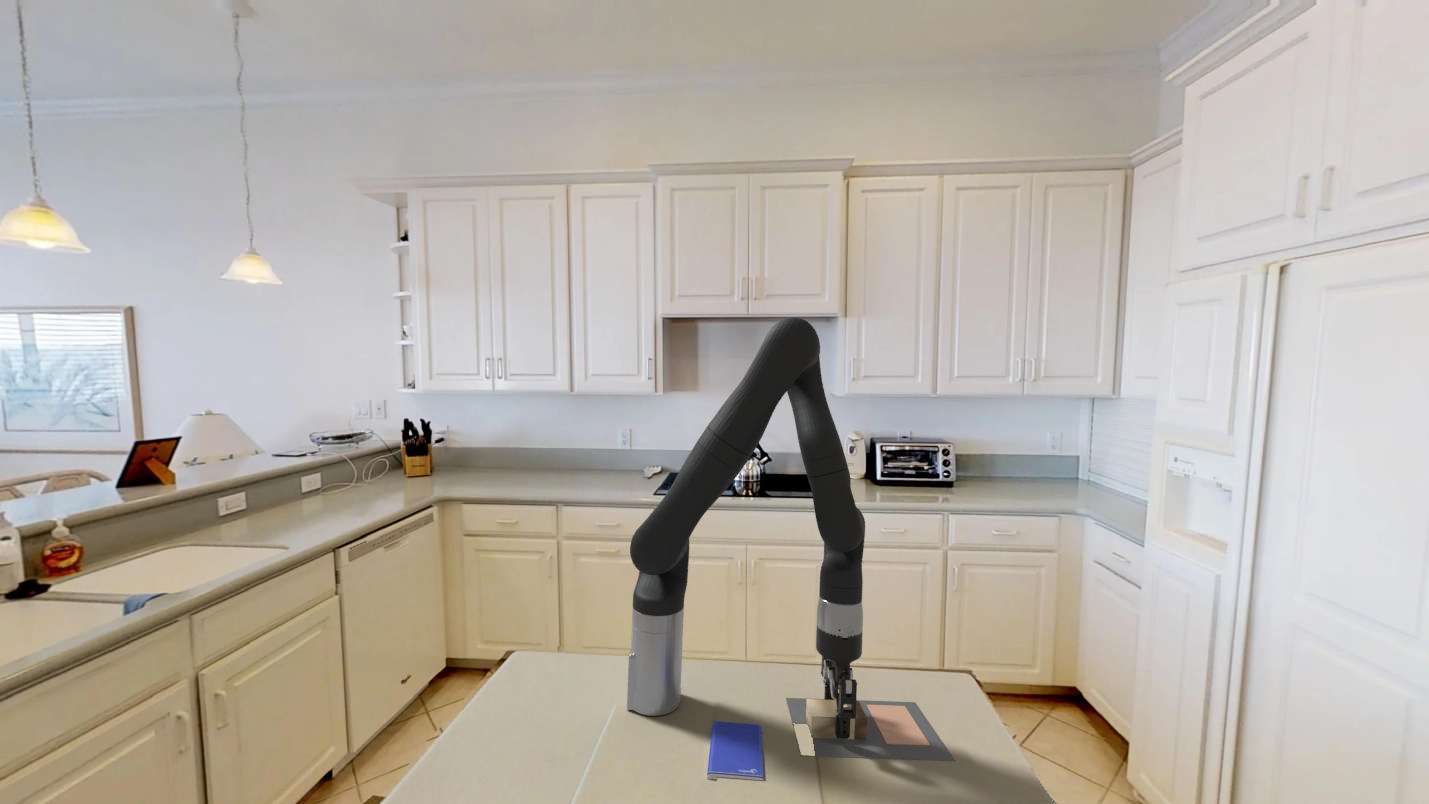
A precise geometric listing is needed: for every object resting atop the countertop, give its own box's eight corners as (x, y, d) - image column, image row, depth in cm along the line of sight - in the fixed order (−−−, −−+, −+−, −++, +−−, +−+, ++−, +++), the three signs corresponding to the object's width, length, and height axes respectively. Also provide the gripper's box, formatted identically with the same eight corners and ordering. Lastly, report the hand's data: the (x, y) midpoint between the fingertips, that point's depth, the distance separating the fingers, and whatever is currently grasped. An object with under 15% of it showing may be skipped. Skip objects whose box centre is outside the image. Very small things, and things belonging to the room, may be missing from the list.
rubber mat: (800, 758, 81) (800, 755, 81) (785, 700, 97) (785, 697, 97) (955, 763, 81) (955, 760, 81) (915, 704, 97) (915, 701, 97)
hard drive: (763, 776, 76) (761, 724, 88) (707, 771, 76) (712, 720, 88) (763, 787, 76) (760, 733, 88) (706, 782, 76) (712, 729, 88)
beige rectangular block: (811, 737, 86) (812, 716, 86) (805, 719, 91) (806, 699, 91) (866, 739, 86) (867, 718, 86) (857, 721, 91) (858, 700, 91)
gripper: (809, 607, 95) (806, 697, 95) (826, 643, 81) (823, 749, 81) (850, 608, 95) (847, 699, 95) (875, 644, 81) (871, 751, 81)
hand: (836, 722), depth 88 cm, fingers open, 7 cm apart
